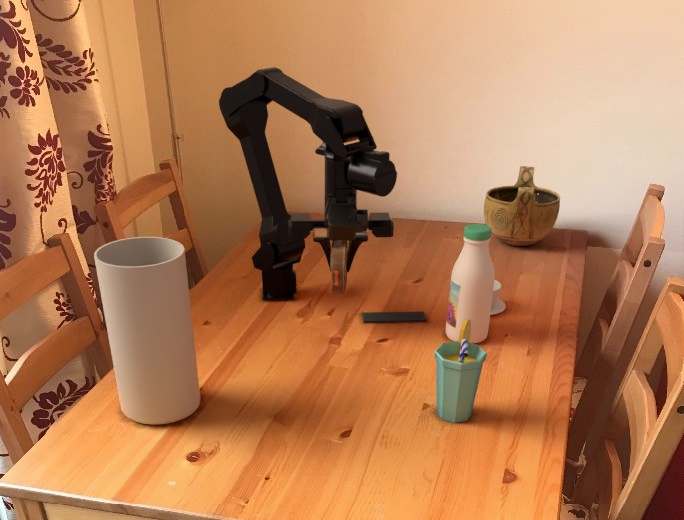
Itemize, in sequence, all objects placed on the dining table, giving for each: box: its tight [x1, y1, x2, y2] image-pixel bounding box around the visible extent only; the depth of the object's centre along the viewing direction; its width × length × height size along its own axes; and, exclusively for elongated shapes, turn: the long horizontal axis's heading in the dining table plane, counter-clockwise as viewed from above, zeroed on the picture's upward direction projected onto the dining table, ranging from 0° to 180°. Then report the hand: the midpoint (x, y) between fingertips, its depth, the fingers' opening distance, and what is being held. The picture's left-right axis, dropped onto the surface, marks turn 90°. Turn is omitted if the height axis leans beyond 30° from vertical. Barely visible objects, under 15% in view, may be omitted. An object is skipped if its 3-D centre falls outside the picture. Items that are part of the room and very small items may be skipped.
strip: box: [361, 311, 427, 324], centre depth 153 cm, size 12×4×1 cm, turn 92°
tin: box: [330, 240, 349, 296], centre depth 146 cm, size 15×3×8 cm, turn 176°
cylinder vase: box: [93, 236, 201, 426], centre depth 119 cm, size 12×12×25 cm
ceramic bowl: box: [483, 165, 561, 247], centre depth 184 cm, size 22×17×15 cm
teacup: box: [490, 279, 507, 316], centre depth 156 cm, size 10×10×5 cm
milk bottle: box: [445, 223, 495, 344], centre depth 141 cm, size 8×8×20 cm
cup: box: [433, 320, 488, 424], centre depth 119 cm, size 14×8×15 cm, turn 174°
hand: (339, 271), depth 148 cm, fingers closed on tin, 3 cm apart
